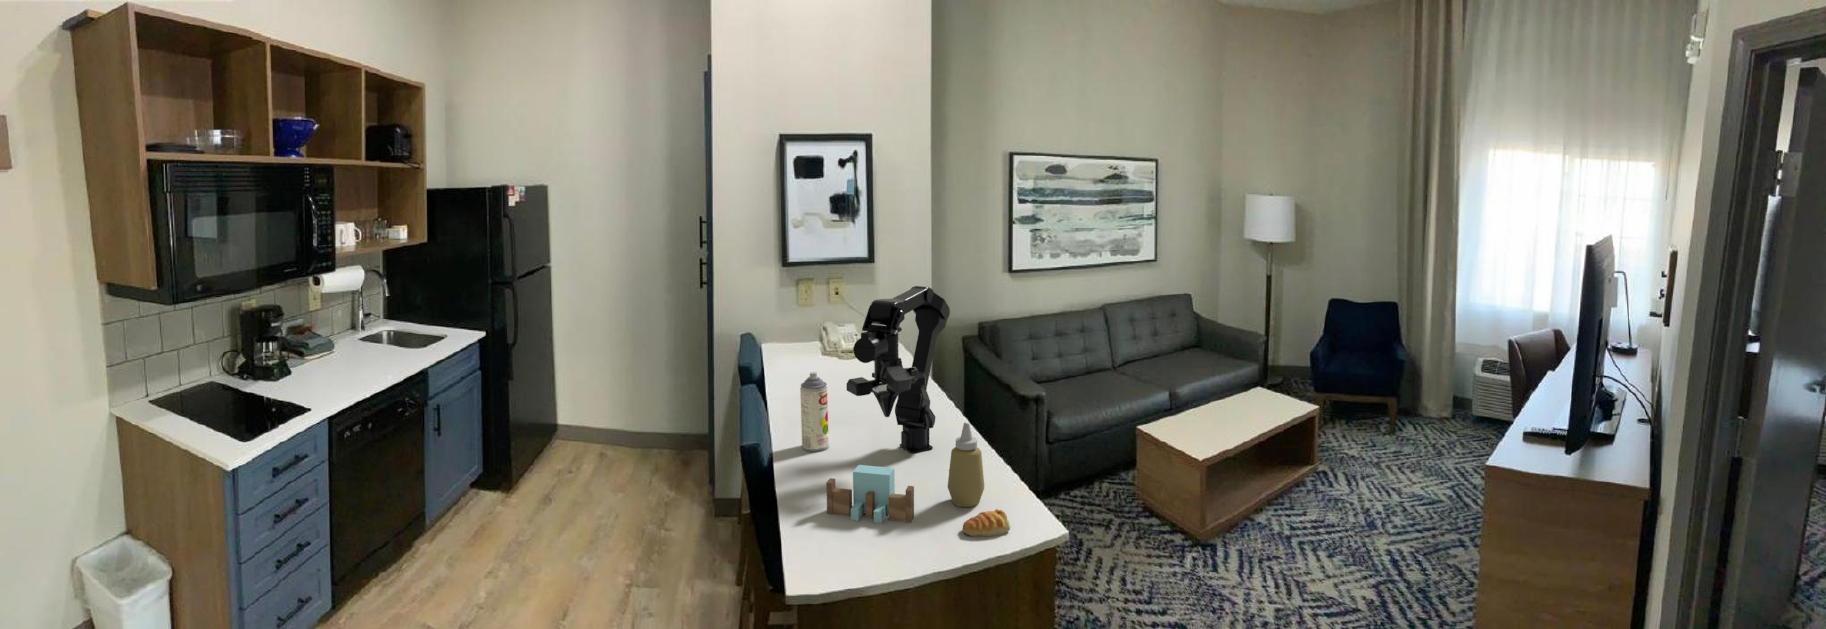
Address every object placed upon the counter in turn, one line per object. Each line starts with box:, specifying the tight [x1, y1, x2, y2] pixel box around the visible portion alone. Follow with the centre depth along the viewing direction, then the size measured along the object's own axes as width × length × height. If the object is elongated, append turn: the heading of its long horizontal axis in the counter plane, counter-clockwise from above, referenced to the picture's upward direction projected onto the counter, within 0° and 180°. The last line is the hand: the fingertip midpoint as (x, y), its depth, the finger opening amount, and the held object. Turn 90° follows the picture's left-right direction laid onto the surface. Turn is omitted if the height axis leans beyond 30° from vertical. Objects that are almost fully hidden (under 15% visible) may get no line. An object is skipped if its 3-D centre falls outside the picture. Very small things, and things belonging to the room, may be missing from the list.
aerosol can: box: [799, 371, 830, 453], centre depth 210 cm, size 7×7×20 cm
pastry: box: [962, 508, 1011, 538], centre depth 166 cm, size 9×7×4 cm
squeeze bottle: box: [947, 422, 985, 508], centre depth 177 cm, size 8×8×18 cm
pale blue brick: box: [850, 464, 896, 524], centre depth 173 cm, size 8×8×9 cm
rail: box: [825, 477, 915, 523], centre depth 172 cm, size 2×18×7 cm, turn 76°
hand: (886, 416), depth 196 cm, fingers closed
